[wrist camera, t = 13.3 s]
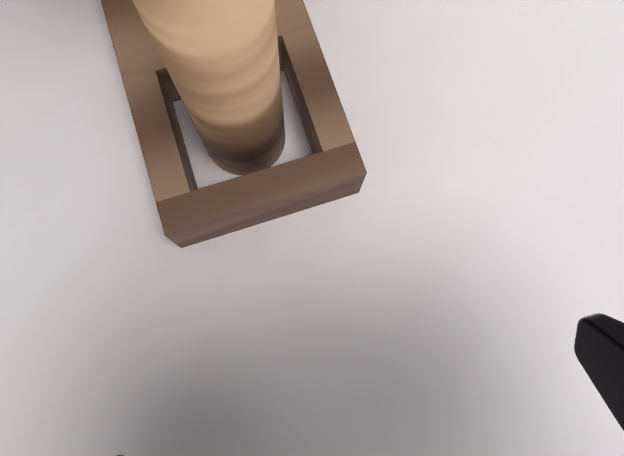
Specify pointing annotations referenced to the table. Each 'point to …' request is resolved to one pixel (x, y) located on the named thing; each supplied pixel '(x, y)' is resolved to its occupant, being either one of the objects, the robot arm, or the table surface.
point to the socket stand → (255, 186)
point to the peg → (224, 74)
